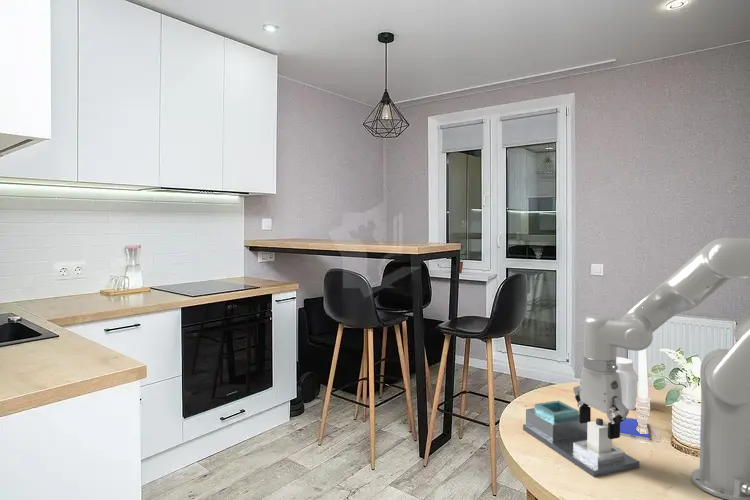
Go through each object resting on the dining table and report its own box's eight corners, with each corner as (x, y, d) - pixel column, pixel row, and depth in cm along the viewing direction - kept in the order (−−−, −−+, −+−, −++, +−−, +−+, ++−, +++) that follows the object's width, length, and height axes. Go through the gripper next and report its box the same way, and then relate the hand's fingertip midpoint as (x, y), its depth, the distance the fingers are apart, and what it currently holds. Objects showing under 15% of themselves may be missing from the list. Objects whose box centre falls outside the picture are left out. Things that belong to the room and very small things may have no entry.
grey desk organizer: (639, 467, 116) (639, 435, 115) (593, 477, 111) (594, 444, 111) (562, 423, 142) (562, 397, 142) (523, 429, 138) (523, 403, 138)
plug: (611, 457, 118) (612, 421, 117) (598, 459, 117) (599, 423, 116) (599, 450, 122) (600, 415, 121) (587, 452, 121) (587, 417, 120)
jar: (601, 406, 155) (601, 362, 155) (598, 396, 164) (599, 354, 164) (640, 411, 151) (641, 365, 151) (635, 400, 160) (636, 357, 160)
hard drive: (617, 415, 145) (617, 431, 134) (647, 420, 141) (649, 436, 130) (616, 420, 145) (616, 436, 134) (647, 425, 141) (649, 442, 130)
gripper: (639, 372, 111) (638, 442, 112) (586, 354, 128) (585, 415, 128) (615, 375, 109) (613, 447, 110) (563, 356, 125) (563, 418, 126)
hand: (598, 430), depth 119 cm, fingers open, 9 cm apart
